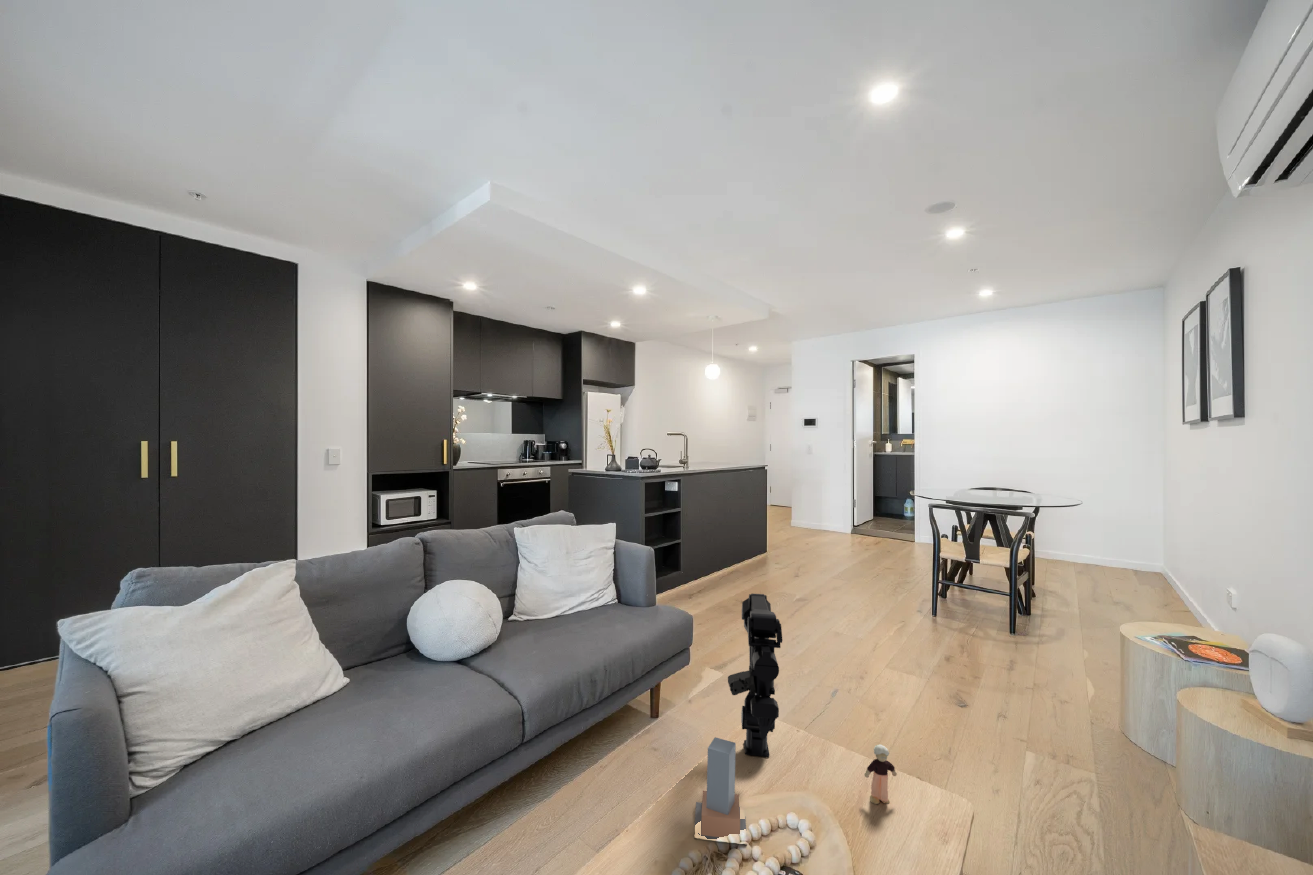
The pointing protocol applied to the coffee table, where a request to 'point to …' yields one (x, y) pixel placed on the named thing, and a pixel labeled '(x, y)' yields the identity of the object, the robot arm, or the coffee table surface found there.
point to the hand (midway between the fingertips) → (761, 728)
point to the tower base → (718, 820)
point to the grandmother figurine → (880, 775)
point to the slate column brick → (721, 775)
